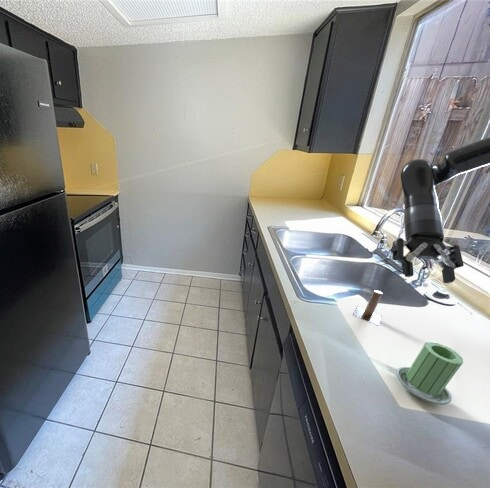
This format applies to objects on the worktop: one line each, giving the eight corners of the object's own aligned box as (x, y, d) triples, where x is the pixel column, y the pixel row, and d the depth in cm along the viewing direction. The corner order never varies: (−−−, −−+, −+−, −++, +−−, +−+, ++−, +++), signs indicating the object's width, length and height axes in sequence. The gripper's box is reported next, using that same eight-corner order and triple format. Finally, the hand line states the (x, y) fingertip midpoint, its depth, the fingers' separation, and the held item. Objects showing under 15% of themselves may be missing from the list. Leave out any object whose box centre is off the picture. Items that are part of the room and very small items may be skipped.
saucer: (435, 382, 64) (439, 375, 63) (455, 418, 56) (461, 411, 55) (387, 367, 67) (391, 360, 66) (400, 398, 59) (404, 391, 58)
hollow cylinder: (440, 383, 61) (462, 352, 57) (440, 400, 57) (464, 368, 53) (407, 368, 64) (425, 337, 60) (405, 382, 61) (424, 351, 56)
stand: (380, 319, 85) (393, 292, 81) (376, 329, 80) (390, 301, 76) (355, 309, 89) (366, 283, 85) (350, 318, 85) (362, 291, 80)
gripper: (401, 214, 71) (406, 270, 65) (465, 221, 67) (476, 281, 62) (384, 226, 77) (387, 278, 72) (442, 233, 74) (450, 288, 69)
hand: (428, 279), depth 67 cm, fingers open, 8 cm apart
